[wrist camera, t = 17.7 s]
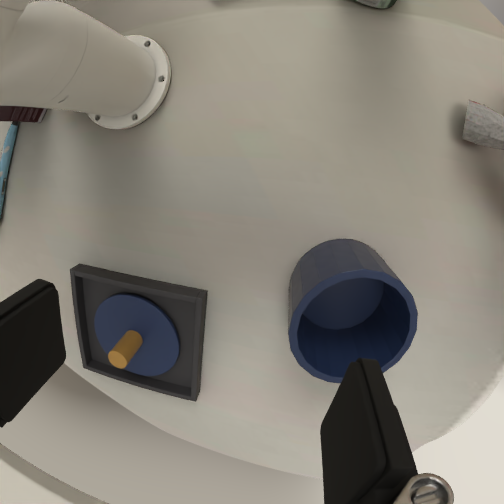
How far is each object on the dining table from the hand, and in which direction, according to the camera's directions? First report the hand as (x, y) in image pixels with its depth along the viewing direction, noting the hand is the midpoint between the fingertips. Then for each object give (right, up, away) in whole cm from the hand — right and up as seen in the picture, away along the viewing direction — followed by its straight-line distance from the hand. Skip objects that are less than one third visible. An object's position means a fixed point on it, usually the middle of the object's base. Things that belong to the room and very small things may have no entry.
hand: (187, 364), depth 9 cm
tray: (-15, -8, +34) cm, 38 cm away
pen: (-38, +16, +30) cm, 51 cm away
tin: (+13, -1, +29) cm, 32 cm away
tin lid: (-15, -9, +33) cm, 38 cm away
